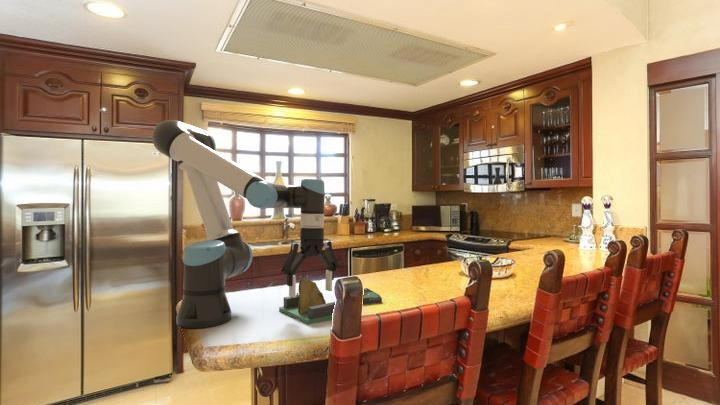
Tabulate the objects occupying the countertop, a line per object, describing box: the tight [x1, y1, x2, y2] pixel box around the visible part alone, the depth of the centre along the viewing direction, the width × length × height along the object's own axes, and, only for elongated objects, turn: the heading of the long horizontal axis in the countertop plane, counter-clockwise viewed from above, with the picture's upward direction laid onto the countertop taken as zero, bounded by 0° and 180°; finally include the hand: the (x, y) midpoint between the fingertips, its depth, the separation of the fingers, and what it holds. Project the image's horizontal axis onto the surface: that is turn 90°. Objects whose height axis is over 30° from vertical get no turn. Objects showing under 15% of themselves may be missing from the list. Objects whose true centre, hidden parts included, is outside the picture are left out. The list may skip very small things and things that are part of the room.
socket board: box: [278, 292, 336, 326], centre depth 117 cm, size 14×18×5 cm
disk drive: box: [362, 287, 383, 305], centre depth 136 cm, size 10×3×15 cm
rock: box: [298, 278, 327, 314], centre depth 117 cm, size 11×9×10 cm
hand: (311, 293), depth 118 cm, fingers open, 13 cm apart
